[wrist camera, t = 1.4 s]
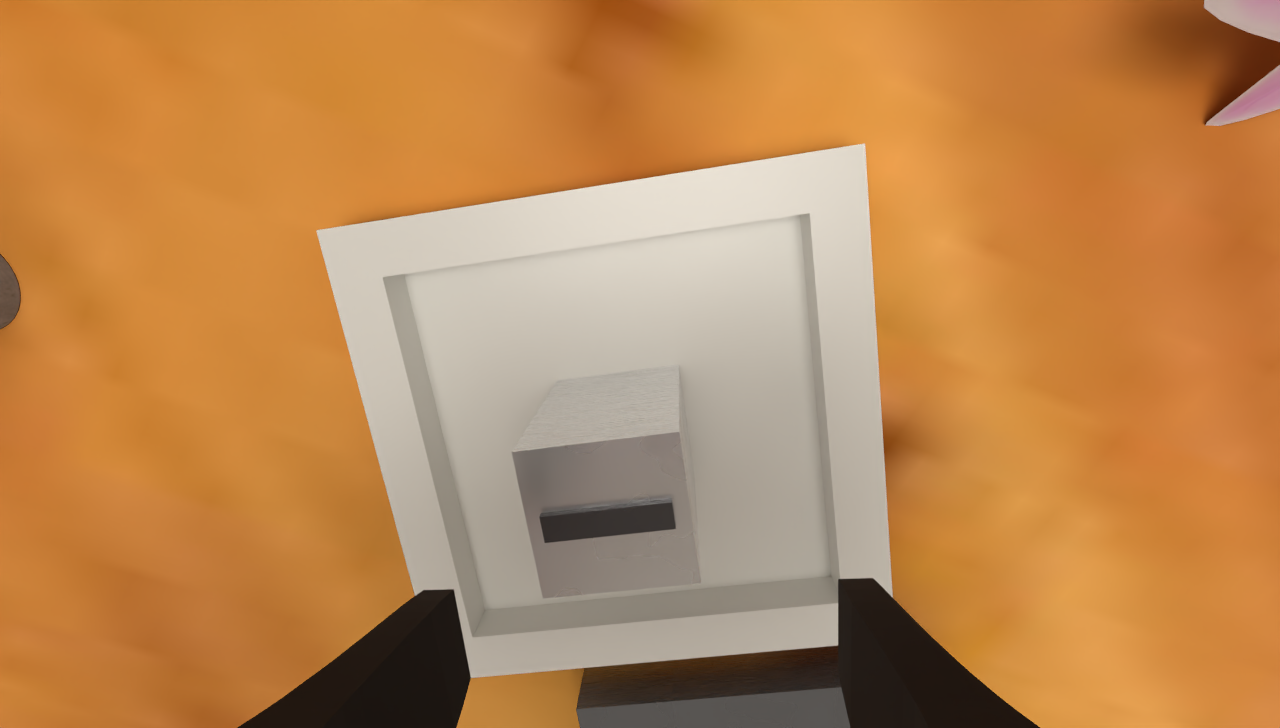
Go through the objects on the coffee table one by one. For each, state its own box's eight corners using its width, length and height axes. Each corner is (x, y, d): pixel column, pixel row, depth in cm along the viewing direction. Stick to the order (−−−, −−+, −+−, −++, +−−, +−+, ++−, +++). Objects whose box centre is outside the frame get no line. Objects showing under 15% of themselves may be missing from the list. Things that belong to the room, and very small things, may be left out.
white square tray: (456, 642, 25) (438, 680, 23) (350, 226, 21) (316, 230, 19) (877, 602, 23) (895, 640, 21) (846, 148, 19) (864, 143, 17)
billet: (578, 492, 22) (541, 603, 16) (557, 380, 21) (509, 455, 15) (694, 478, 22) (701, 588, 16) (679, 364, 21) (679, 435, 15)
